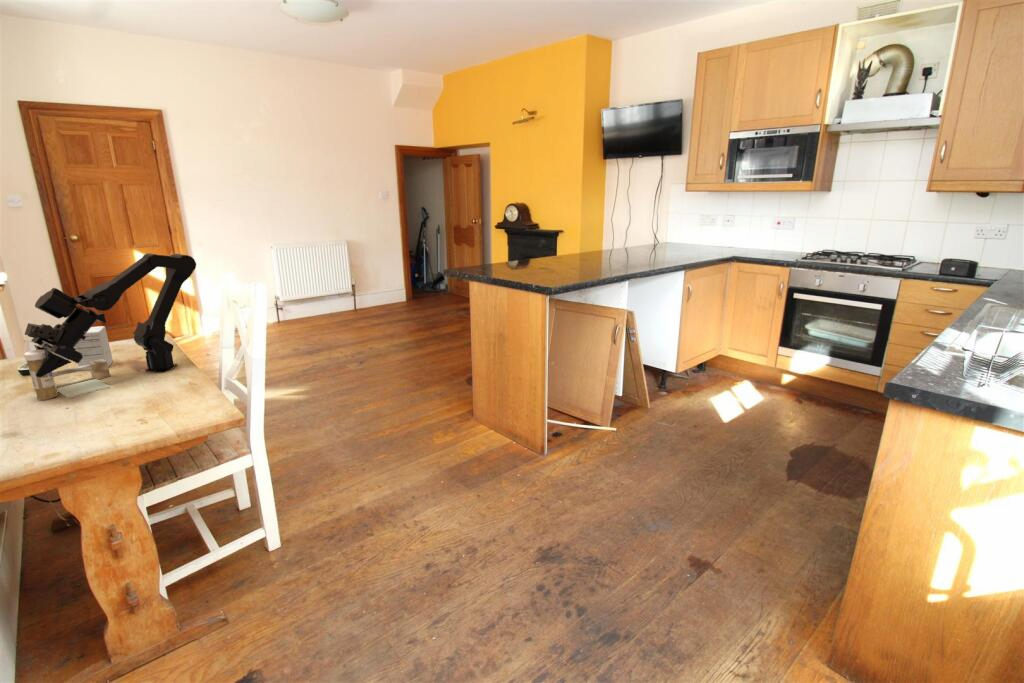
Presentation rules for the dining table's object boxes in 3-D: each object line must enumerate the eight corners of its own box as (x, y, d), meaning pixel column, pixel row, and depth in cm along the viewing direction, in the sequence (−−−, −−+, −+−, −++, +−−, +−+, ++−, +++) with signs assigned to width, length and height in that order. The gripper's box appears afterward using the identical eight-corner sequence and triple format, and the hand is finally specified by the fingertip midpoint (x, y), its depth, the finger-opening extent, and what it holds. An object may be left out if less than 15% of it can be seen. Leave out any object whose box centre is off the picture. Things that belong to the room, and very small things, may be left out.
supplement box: (86, 364, 165) (77, 327, 162) (113, 361, 168) (105, 325, 165) (79, 371, 159) (69, 333, 155) (107, 368, 162) (99, 331, 158)
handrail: (105, 373, 157) (102, 358, 156) (110, 376, 156) (106, 360, 154) (35, 390, 144) (30, 373, 142) (39, 393, 142) (34, 376, 140)
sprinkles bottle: (57, 398, 139) (44, 352, 135) (35, 401, 136) (21, 355, 132) (59, 392, 142) (47, 348, 138) (38, 395, 140) (25, 350, 136)
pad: (96, 379, 152) (95, 378, 152) (110, 387, 147) (109, 385, 147) (54, 390, 144) (53, 388, 144) (67, 398, 139) (67, 396, 139)
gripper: (32, 306, 140) (-11, 354, 135) (56, 316, 131) (11, 368, 125) (73, 327, 149) (35, 372, 143) (99, 338, 139) (59, 387, 134)
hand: (34, 374), depth 136 cm, fingers closed on sprinkles bottle, 4 cm apart
